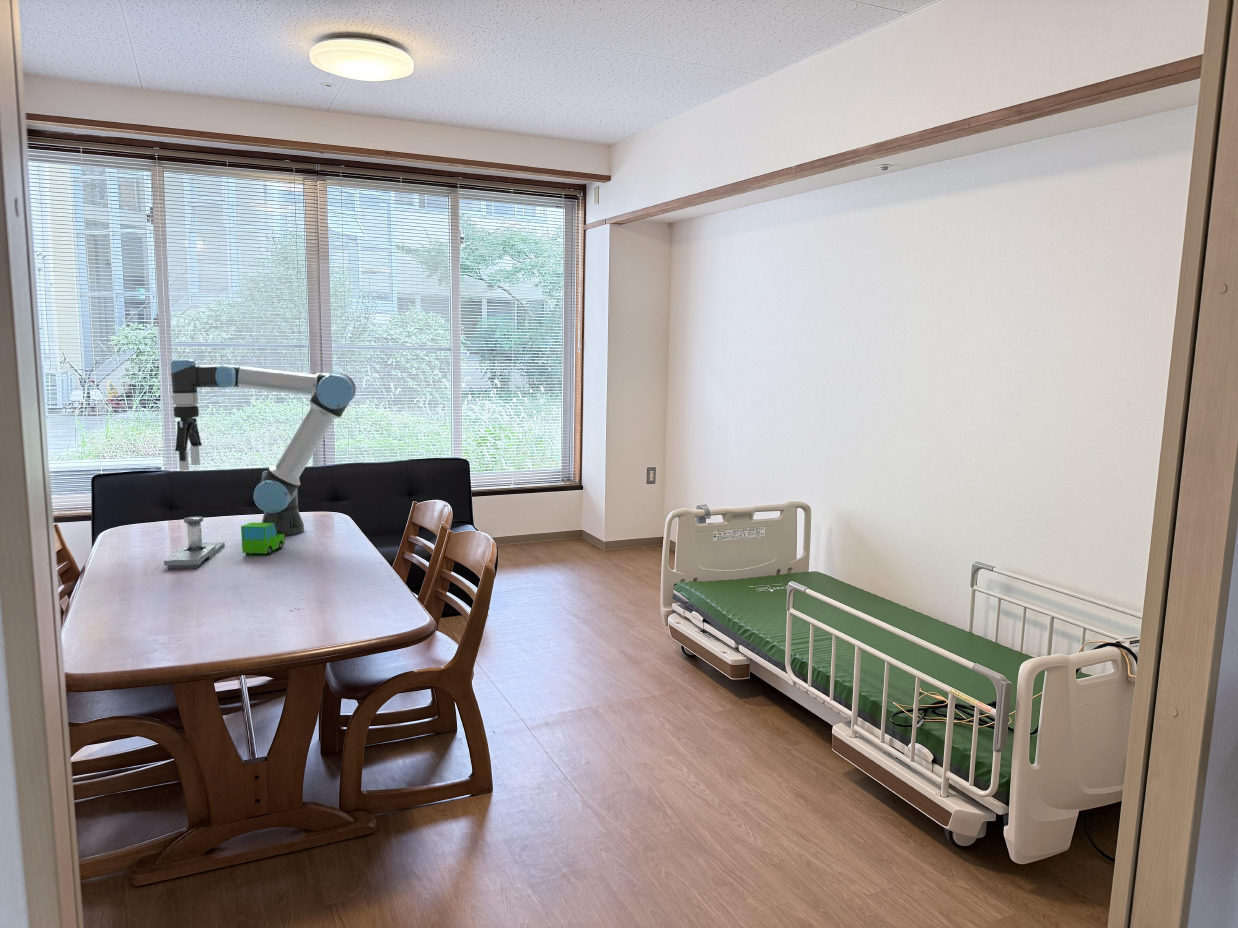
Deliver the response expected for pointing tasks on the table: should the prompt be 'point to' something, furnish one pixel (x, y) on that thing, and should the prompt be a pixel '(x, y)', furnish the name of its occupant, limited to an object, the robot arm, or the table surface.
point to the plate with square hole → (192, 556)
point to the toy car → (261, 538)
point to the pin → (194, 533)
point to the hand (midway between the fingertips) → (190, 467)
